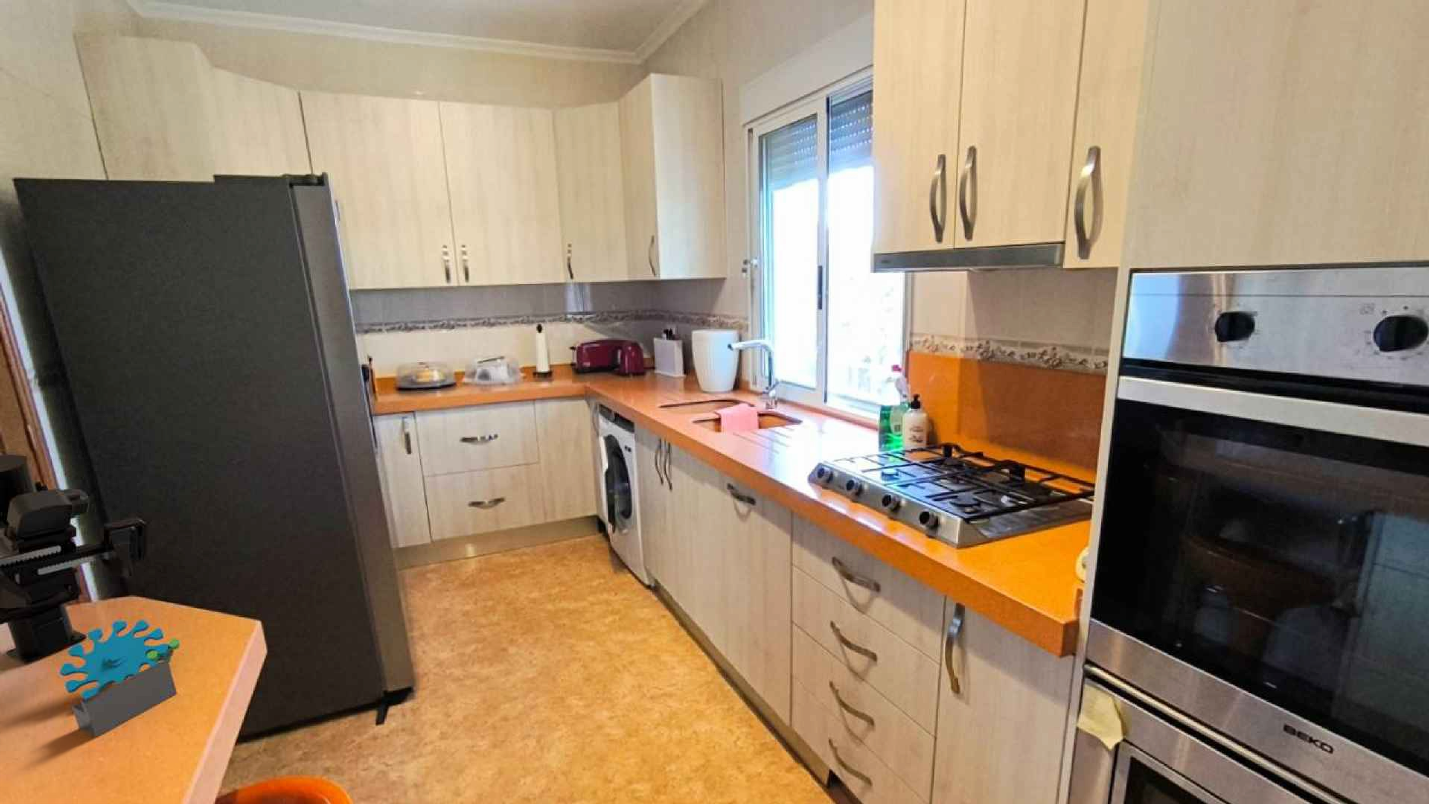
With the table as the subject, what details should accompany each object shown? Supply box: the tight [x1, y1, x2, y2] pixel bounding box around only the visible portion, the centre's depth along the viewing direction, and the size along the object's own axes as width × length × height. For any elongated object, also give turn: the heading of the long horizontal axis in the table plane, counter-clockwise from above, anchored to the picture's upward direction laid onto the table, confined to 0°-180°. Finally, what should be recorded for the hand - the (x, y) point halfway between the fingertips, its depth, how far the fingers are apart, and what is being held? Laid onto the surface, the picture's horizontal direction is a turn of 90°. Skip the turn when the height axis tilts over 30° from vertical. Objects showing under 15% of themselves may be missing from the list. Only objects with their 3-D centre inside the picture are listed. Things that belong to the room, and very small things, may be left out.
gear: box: [59, 619, 181, 700], centre depth 80 cm, size 11×6×10 cm
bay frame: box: [71, 660, 178, 738], centre depth 73 cm, size 4×8×4 cm, turn 156°
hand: (82, 587), depth 74 cm, fingers open, 9 cm apart
